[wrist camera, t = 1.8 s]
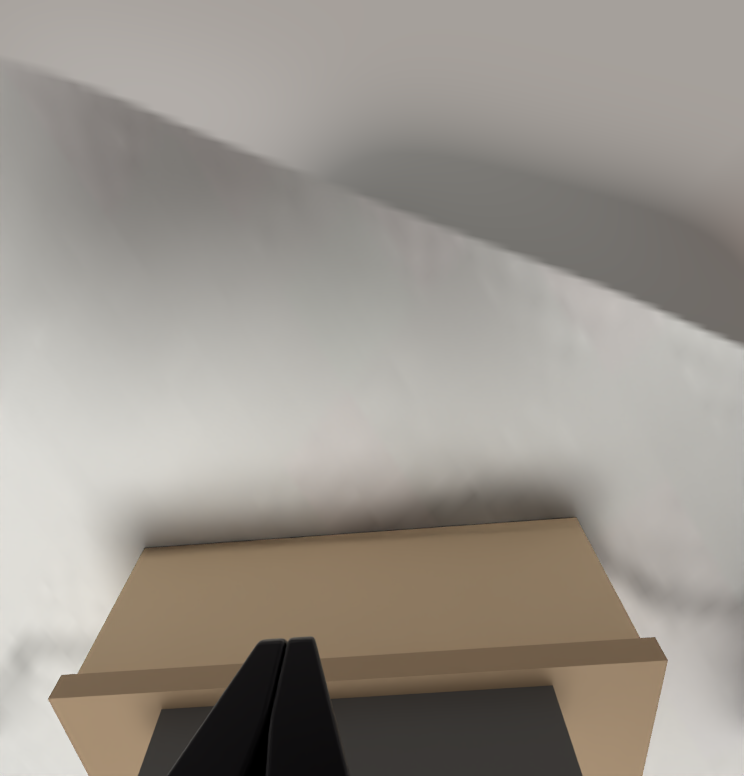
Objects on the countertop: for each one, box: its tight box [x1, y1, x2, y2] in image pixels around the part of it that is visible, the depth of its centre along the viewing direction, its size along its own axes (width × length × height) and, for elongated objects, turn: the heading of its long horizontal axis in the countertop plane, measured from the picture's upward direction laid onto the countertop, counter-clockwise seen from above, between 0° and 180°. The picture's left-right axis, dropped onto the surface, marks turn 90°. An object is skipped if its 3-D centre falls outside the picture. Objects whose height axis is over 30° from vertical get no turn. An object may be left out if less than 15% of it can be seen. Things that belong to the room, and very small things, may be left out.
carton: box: [78, 518, 640, 674], centre depth 23 cm, size 18×16×6 cm
